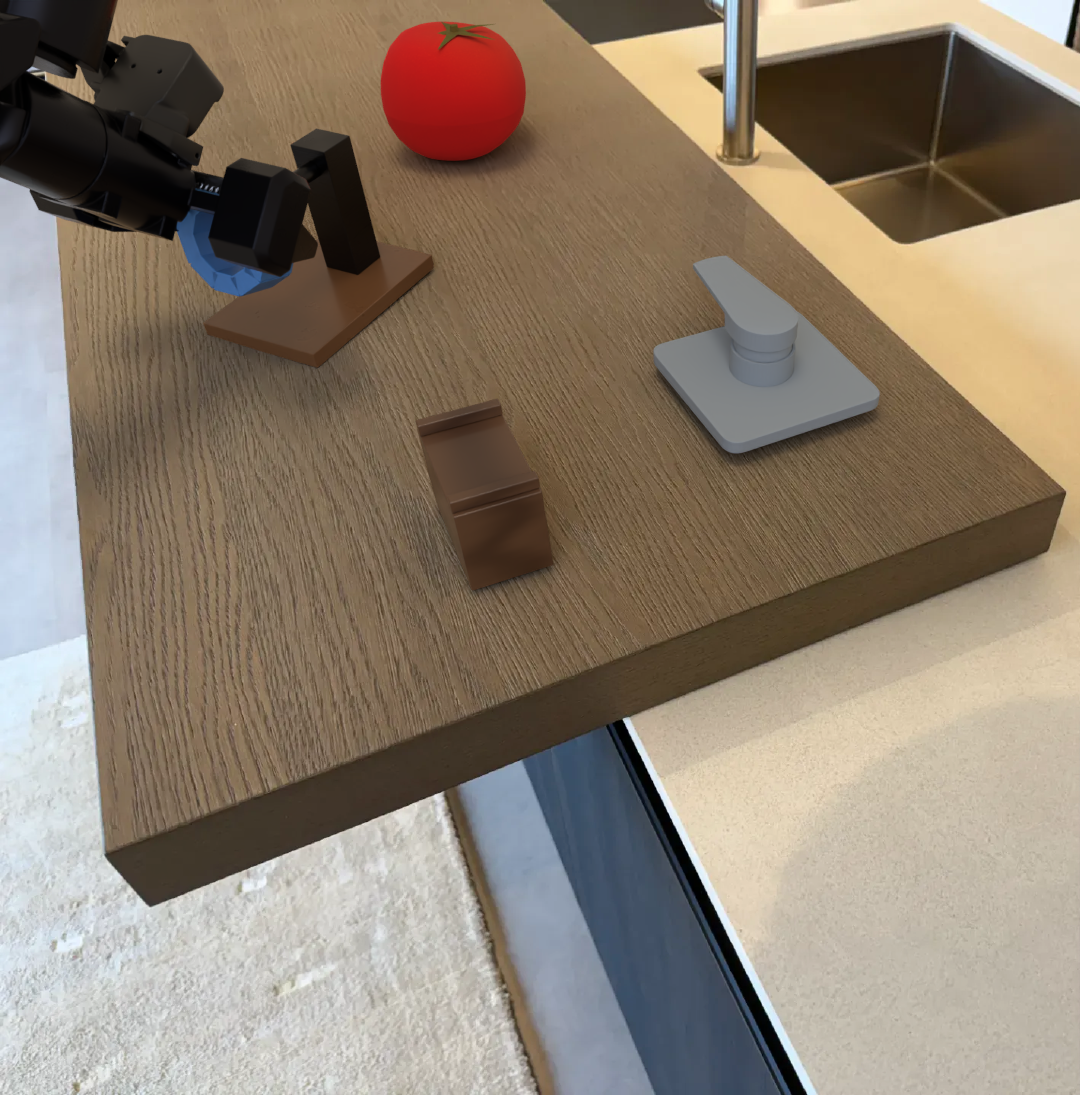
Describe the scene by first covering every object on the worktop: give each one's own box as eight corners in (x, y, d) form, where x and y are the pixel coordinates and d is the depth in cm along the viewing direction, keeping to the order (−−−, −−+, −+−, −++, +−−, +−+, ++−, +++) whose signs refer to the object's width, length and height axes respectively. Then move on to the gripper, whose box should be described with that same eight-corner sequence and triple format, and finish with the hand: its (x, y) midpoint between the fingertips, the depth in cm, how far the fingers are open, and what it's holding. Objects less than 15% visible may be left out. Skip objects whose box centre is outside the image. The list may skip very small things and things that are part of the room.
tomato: (369, 140, 100) (342, 14, 92) (497, 109, 106) (482, -12, 98) (425, 192, 93) (401, 61, 85) (558, 155, 99) (548, 30, 91)
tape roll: (270, 305, 70) (259, 196, 67) (183, 282, 72) (168, 175, 69) (301, 295, 73) (292, 190, 69) (216, 273, 75) (203, 169, 71)
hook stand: (317, 368, 75) (270, 226, 67) (207, 336, 77) (149, 196, 69) (434, 267, 85) (405, 133, 76) (333, 242, 87) (295, 109, 79)
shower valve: (781, 237, 78) (896, 341, 69) (776, 300, 82) (884, 406, 73) (631, 274, 73) (733, 390, 64) (633, 339, 77) (729, 457, 68)
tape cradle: (471, 591, 60) (450, 507, 55) (435, 501, 65) (413, 416, 60) (554, 565, 62) (540, 480, 57) (512, 478, 67) (496, 394, 62)
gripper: (237, 33, 55) (402, 149, 70) (-23, -18, 60) (185, 101, 75) (184, 237, 56) (360, 308, 71) (-68, 171, 60) (146, 251, 75)
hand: (261, 236), depth 73 cm, fingers open, 9 cm apart
